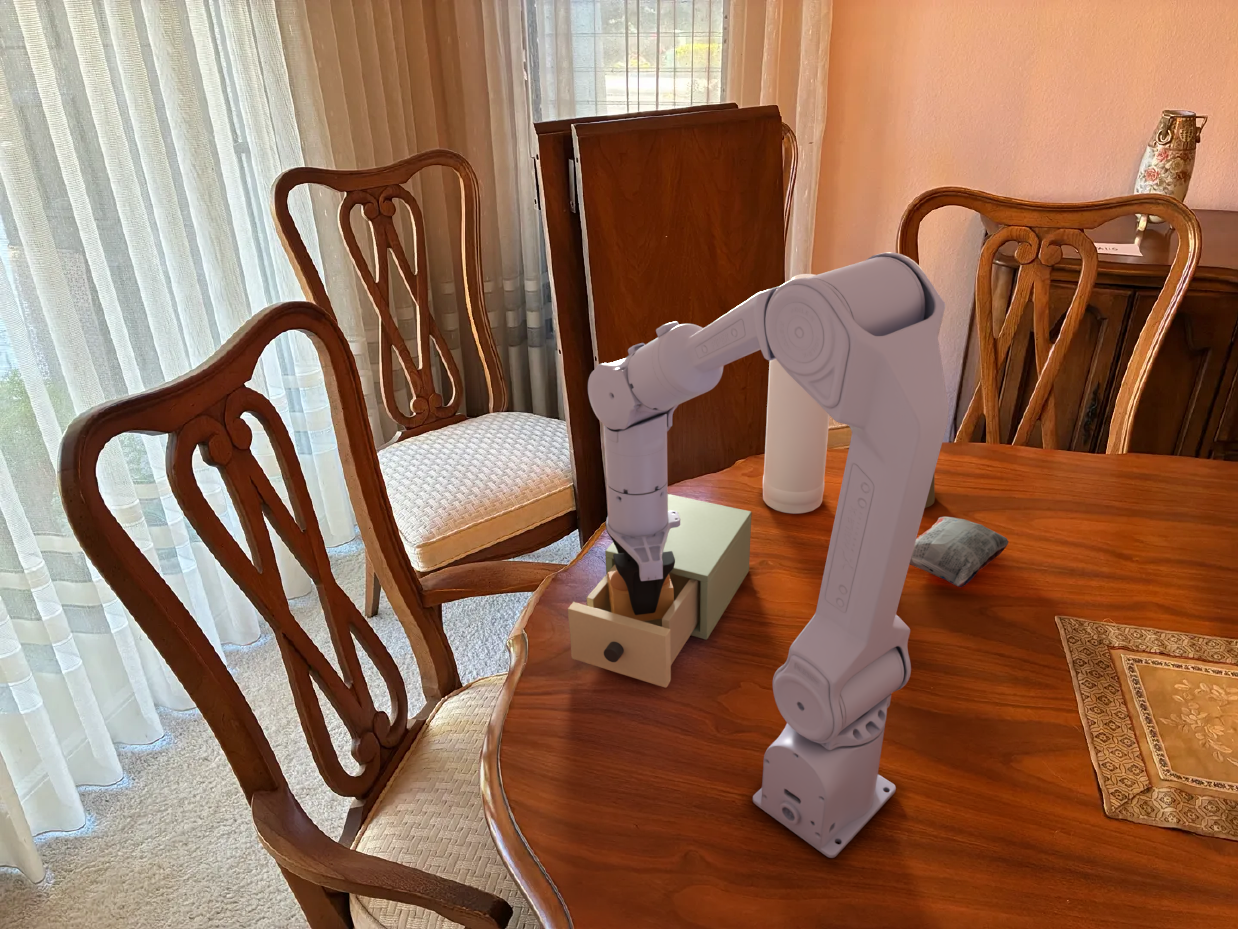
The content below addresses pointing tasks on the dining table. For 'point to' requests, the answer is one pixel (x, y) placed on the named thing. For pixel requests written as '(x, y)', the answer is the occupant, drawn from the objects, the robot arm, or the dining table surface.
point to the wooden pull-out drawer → (634, 633)
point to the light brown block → (622, 601)
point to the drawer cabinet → (707, 553)
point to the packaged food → (956, 549)
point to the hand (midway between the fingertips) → (640, 597)
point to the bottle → (793, 444)
